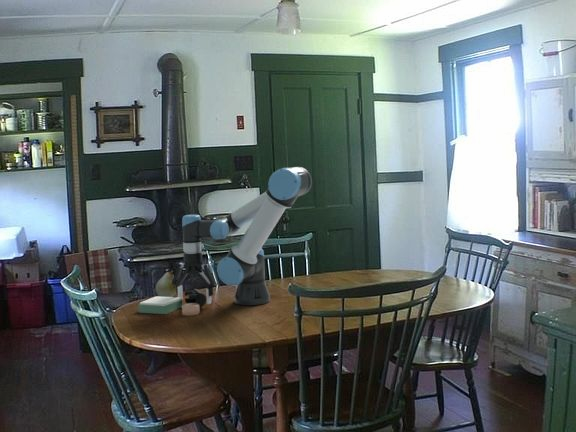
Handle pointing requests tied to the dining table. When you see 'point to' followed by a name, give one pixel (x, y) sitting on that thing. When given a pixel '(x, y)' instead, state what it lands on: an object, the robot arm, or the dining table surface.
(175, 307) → the stand
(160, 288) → the fruit
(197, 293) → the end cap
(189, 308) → the pinkish tan egg
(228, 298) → the dining table surface
